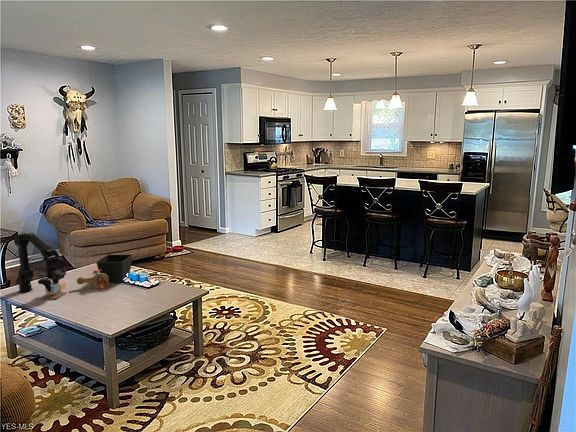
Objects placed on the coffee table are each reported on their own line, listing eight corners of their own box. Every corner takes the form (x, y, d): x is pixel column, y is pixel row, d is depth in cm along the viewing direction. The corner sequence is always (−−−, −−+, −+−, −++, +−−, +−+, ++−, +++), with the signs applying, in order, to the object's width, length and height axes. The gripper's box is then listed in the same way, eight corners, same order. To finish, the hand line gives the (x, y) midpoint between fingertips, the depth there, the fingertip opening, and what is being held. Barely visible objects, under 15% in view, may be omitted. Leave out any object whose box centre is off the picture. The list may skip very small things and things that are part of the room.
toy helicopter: (107, 290, 294) (105, 270, 291) (75, 291, 292) (73, 271, 289) (110, 285, 302) (109, 267, 299) (79, 286, 300) (78, 268, 297)
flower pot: (97, 284, 305) (95, 261, 302) (109, 275, 323) (107, 254, 320) (123, 284, 304) (122, 262, 301) (134, 276, 323) (132, 254, 320)
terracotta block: (52, 291, 291) (51, 285, 290) (57, 288, 297) (56, 282, 296) (61, 291, 291) (60, 285, 290) (65, 288, 297) (65, 282, 296)
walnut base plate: (40, 299, 277) (40, 297, 277) (51, 292, 288) (51, 291, 288) (56, 299, 276) (56, 298, 276) (66, 293, 287) (66, 292, 287)
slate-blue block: (45, 292, 279) (45, 286, 278) (51, 289, 285) (51, 283, 284) (54, 293, 278) (53, 286, 277) (60, 290, 284) (59, 283, 283)
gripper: (53, 272, 268) (55, 295, 271) (70, 263, 287) (72, 285, 290) (36, 271, 270) (39, 295, 272) (55, 262, 288) (57, 285, 291)
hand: (52, 290), depth 281 cm, fingers closed on slate-blue block, 6 cm apart
